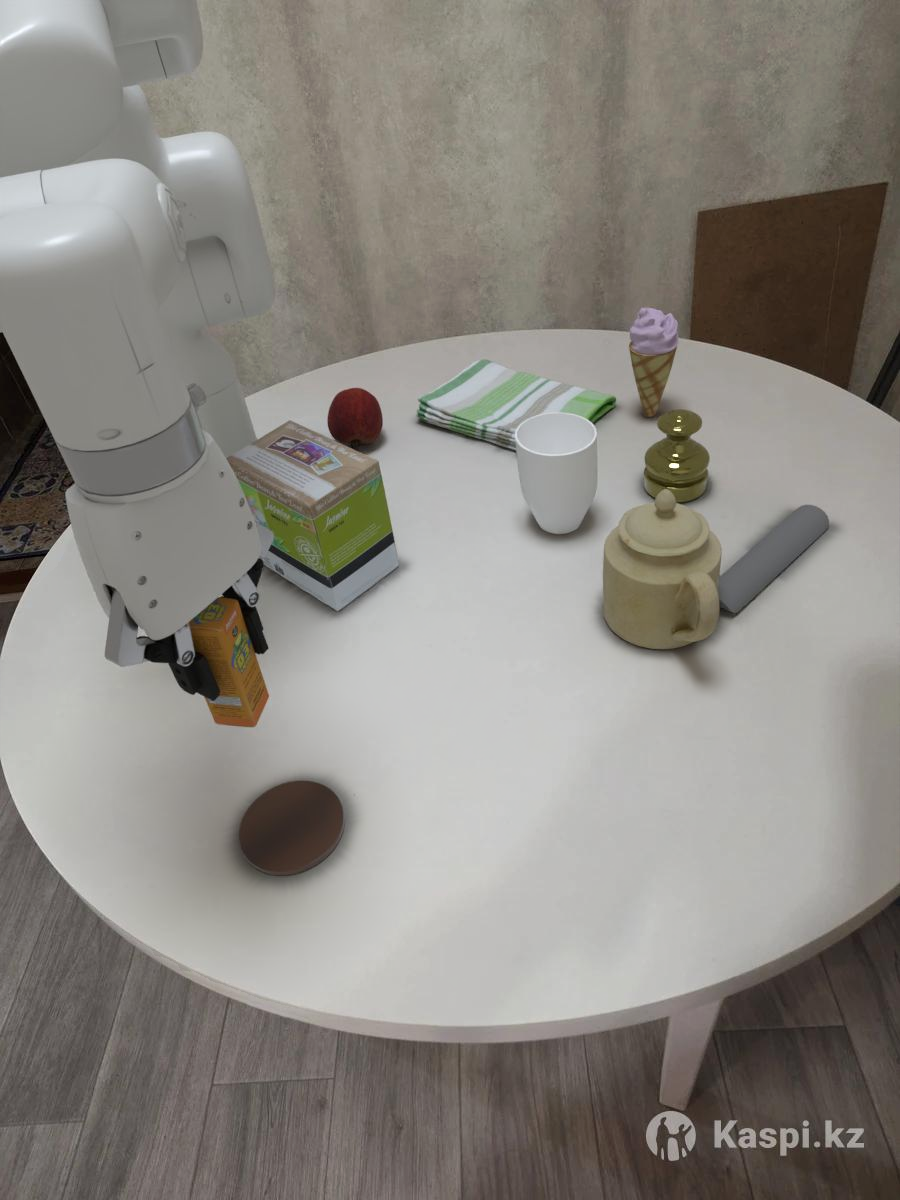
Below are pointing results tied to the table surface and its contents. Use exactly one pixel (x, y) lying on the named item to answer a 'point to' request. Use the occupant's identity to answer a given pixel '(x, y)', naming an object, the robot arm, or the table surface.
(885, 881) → the table surface
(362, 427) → the apple
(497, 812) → the table surface
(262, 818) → the coaster
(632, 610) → the sugar bowl
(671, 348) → the ice cream cone
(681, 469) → the brass weight
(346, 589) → the tea box
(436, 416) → the dish towel
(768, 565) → the gray half cylinder
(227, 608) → the supplement box
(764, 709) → the table surface
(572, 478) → the mug
